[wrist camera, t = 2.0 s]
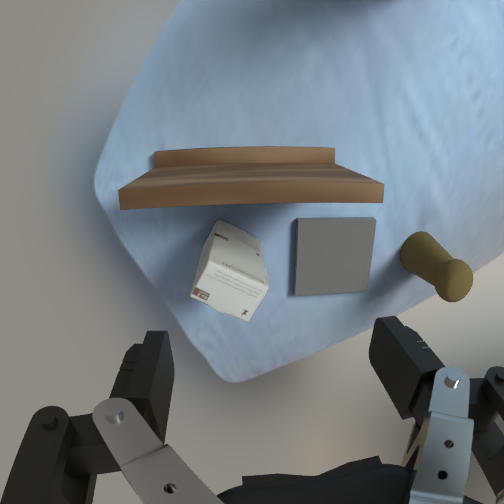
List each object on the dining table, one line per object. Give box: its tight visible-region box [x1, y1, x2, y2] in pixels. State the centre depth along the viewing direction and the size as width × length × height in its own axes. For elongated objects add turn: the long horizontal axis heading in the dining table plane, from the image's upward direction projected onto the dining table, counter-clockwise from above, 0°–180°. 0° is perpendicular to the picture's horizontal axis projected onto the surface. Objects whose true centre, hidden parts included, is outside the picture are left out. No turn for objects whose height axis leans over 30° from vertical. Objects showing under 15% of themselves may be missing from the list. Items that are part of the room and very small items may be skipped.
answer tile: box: [294, 217, 376, 296], centre depth 40 cm, size 10×10×1 cm
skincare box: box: [190, 219, 269, 322], centre depth 33 cm, size 6×4×12 cm
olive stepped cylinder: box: [400, 231, 473, 302], centre depth 36 cm, size 6×6×11 cm
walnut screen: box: [118, 146, 384, 210], centre depth 29 cm, size 5×20×14 cm, turn 91°
